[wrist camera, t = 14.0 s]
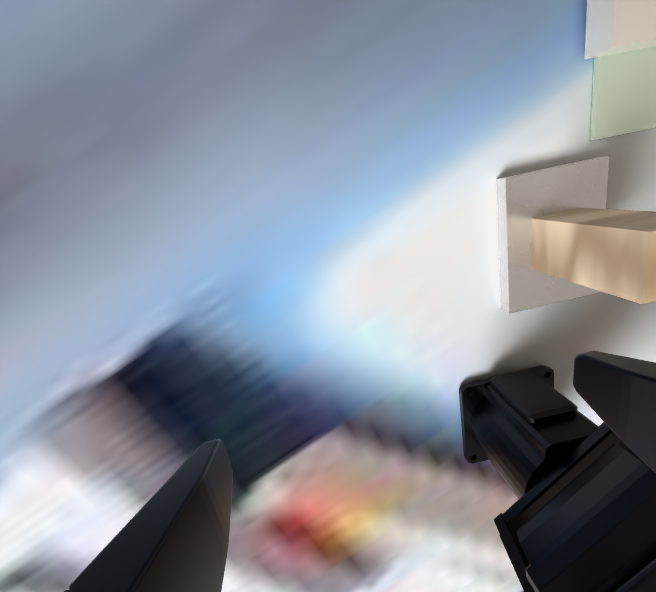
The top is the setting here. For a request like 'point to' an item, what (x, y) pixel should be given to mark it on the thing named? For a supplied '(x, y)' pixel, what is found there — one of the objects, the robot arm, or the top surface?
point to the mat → (623, 93)
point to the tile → (619, 26)
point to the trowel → (570, 239)
